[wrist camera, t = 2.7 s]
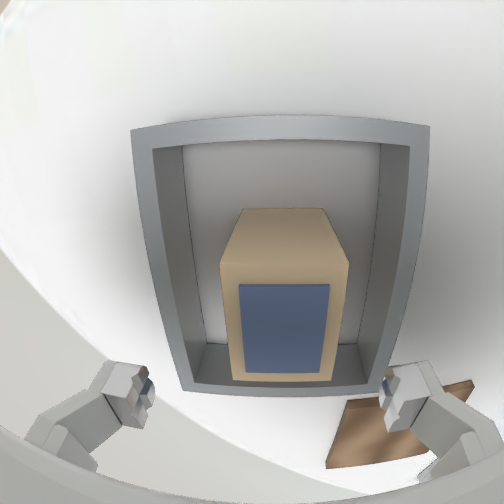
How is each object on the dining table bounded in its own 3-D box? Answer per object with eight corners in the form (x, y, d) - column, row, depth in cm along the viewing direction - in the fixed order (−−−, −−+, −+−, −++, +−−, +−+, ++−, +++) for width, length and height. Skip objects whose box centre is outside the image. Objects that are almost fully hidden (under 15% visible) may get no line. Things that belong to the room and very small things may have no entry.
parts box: (322, 208, 16) (350, 265, 10) (317, 298, 19) (331, 383, 12) (242, 208, 17) (217, 266, 10) (248, 298, 19) (232, 383, 12)
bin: (396, 124, 14) (429, 126, 10) (366, 352, 20) (378, 392, 16) (163, 127, 15) (130, 130, 11) (196, 352, 21) (182, 390, 18)
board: (471, 380, 21) (474, 386, 20) (425, 447, 27) (426, 452, 26) (347, 400, 23) (349, 409, 22) (325, 462, 28) (325, 469, 27)
